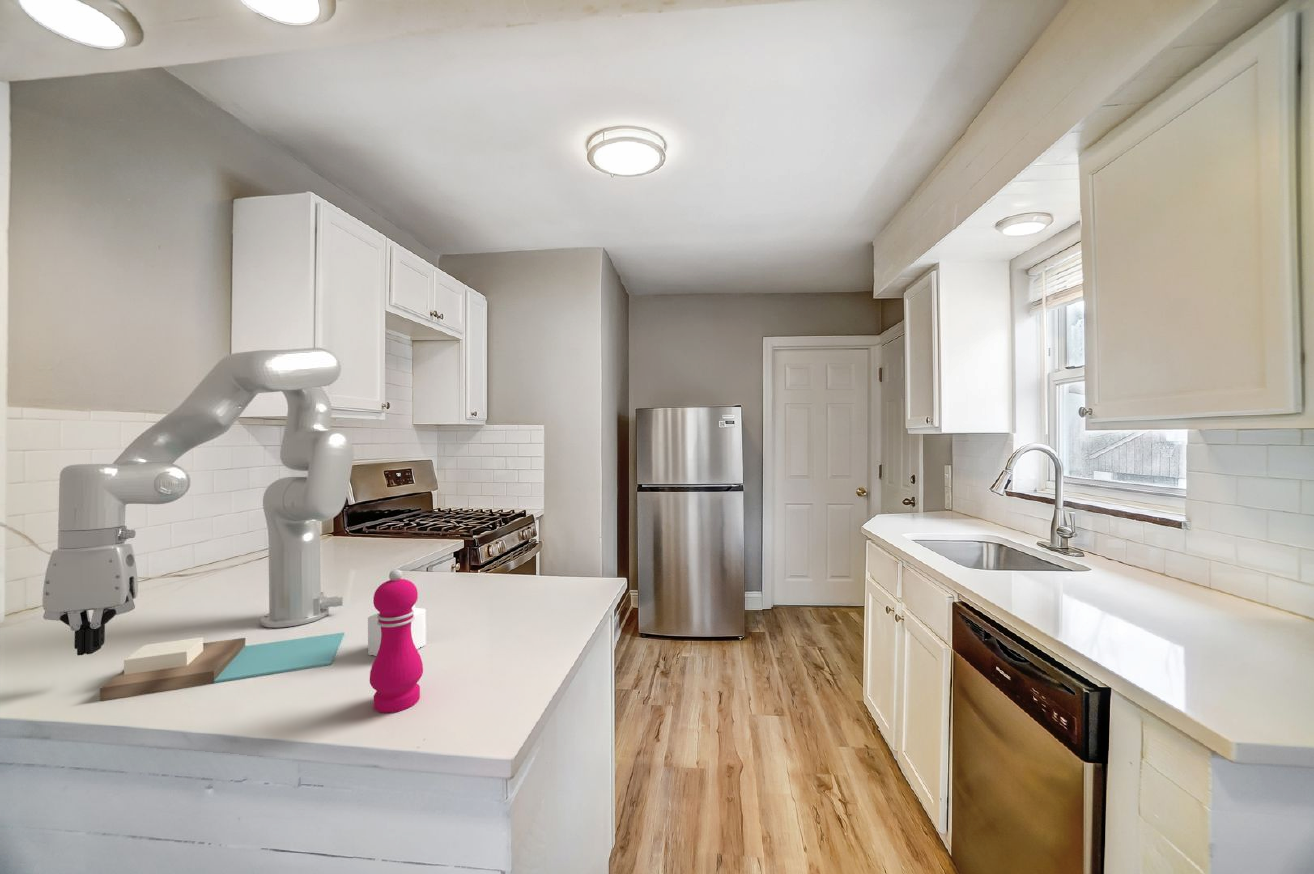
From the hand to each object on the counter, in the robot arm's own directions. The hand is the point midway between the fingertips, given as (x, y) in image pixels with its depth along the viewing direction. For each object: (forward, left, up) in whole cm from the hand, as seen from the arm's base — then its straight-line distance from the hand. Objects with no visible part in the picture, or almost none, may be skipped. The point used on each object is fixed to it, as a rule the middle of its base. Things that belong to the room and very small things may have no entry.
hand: (89, 651), depth 86 cm
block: (-9, 0, -2) cm, 10 cm away
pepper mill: (-46, +28, -6) cm, 54 cm away
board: (-11, 0, -6) cm, 13 cm away
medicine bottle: (-45, +6, -6) cm, 46 cm away
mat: (-26, 0, -6) cm, 27 cm away
